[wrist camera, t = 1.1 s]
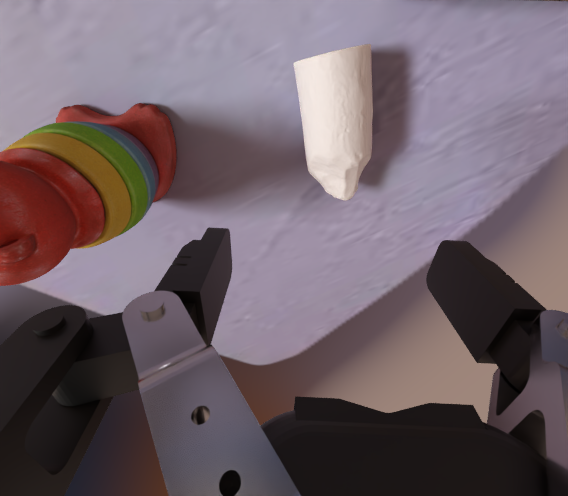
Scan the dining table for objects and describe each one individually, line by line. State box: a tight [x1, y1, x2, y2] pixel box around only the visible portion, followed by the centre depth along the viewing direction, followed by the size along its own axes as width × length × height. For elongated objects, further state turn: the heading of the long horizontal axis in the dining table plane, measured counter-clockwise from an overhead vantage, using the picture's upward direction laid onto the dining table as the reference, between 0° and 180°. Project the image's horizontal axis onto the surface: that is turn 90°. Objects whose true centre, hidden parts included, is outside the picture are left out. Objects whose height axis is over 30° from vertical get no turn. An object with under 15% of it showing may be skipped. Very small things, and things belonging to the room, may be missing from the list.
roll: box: [294, 44, 373, 201], centre depth 24 cm, size 6×12×6 cm, turn 11°
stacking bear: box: [0, 103, 176, 286], centre depth 20 cm, size 11×10×18 cm
